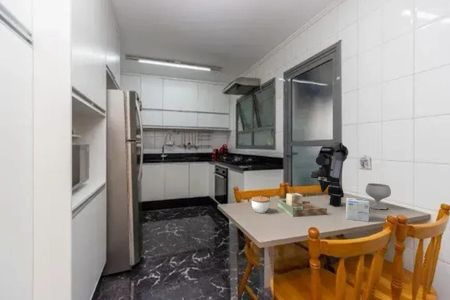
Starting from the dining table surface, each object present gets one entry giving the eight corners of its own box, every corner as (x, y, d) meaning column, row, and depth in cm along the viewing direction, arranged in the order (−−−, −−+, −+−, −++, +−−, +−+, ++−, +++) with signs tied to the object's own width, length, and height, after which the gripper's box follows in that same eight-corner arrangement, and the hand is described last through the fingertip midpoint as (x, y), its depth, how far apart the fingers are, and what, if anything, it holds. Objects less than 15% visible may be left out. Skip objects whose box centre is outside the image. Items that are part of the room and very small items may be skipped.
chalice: (375, 204, 164) (376, 182, 163) (395, 209, 151) (396, 186, 150) (359, 205, 159) (360, 183, 159) (379, 211, 146) (380, 187, 146)
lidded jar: (273, 211, 140) (273, 195, 140) (262, 215, 132) (263, 198, 132) (258, 208, 148) (258, 193, 147) (247, 211, 140) (247, 195, 139)
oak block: (296, 206, 145) (296, 193, 145) (302, 208, 139) (302, 195, 139) (286, 206, 143) (286, 193, 143) (291, 209, 137) (291, 195, 137)
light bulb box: (366, 218, 131) (367, 199, 131) (369, 222, 125) (370, 201, 125) (344, 216, 135) (345, 197, 135) (346, 219, 129) (347, 199, 128)
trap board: (308, 206, 154) (309, 198, 154) (326, 214, 137) (327, 205, 137) (277, 208, 148) (277, 200, 148) (292, 216, 131) (292, 207, 131)
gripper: (305, 163, 151) (302, 188, 150) (325, 166, 133) (322, 193, 133) (320, 165, 154) (316, 189, 154) (341, 168, 136) (338, 195, 136)
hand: (322, 192), depth 144 cm, fingers closed
